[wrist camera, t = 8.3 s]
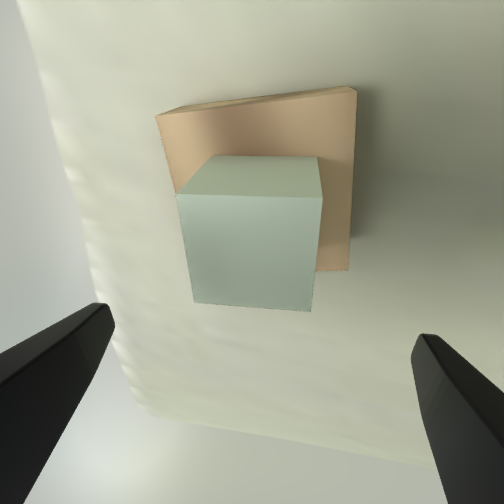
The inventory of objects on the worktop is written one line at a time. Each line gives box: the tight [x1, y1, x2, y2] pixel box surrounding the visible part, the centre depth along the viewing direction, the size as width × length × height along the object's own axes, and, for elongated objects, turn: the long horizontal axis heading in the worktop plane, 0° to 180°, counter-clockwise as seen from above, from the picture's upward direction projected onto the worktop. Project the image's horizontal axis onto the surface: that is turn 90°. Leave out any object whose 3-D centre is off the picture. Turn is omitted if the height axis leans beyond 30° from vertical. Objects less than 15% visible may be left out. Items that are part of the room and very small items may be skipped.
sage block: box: [176, 156, 323, 312], centre depth 14 cm, size 5×5×5 cm
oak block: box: [155, 86, 357, 271], centre depth 17 cm, size 9×9×4 cm
